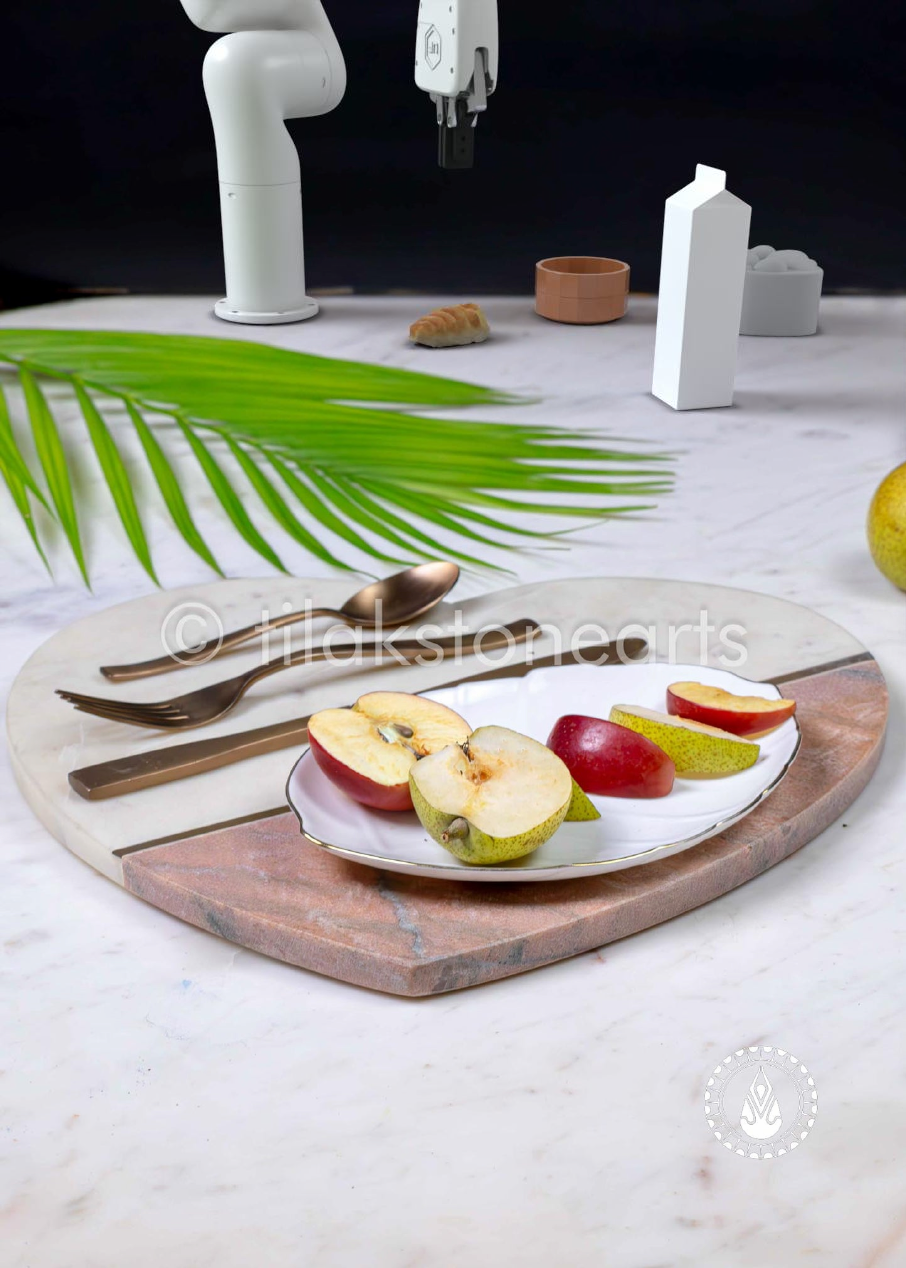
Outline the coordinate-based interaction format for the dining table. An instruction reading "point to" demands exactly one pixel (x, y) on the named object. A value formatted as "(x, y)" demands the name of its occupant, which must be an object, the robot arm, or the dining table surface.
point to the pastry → (451, 326)
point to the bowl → (581, 289)
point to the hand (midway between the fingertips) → (455, 166)
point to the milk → (700, 293)
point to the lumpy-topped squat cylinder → (780, 293)
